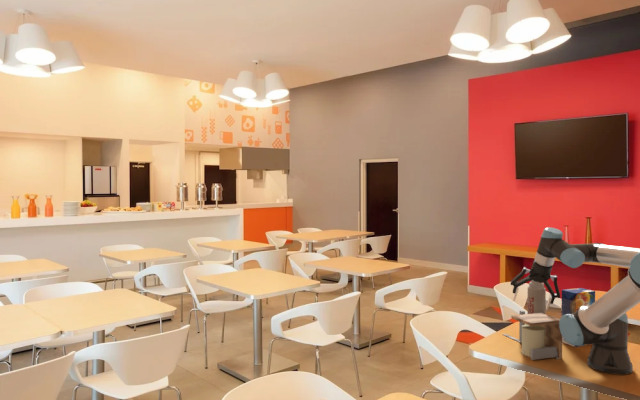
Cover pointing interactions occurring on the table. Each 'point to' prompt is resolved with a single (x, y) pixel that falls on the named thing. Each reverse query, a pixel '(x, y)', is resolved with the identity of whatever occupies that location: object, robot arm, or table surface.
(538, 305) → the thermos bottle
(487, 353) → the table surface
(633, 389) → the table surface
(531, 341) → the can
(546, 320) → the brown angular piece
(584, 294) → the juice carton
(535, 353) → the slider
